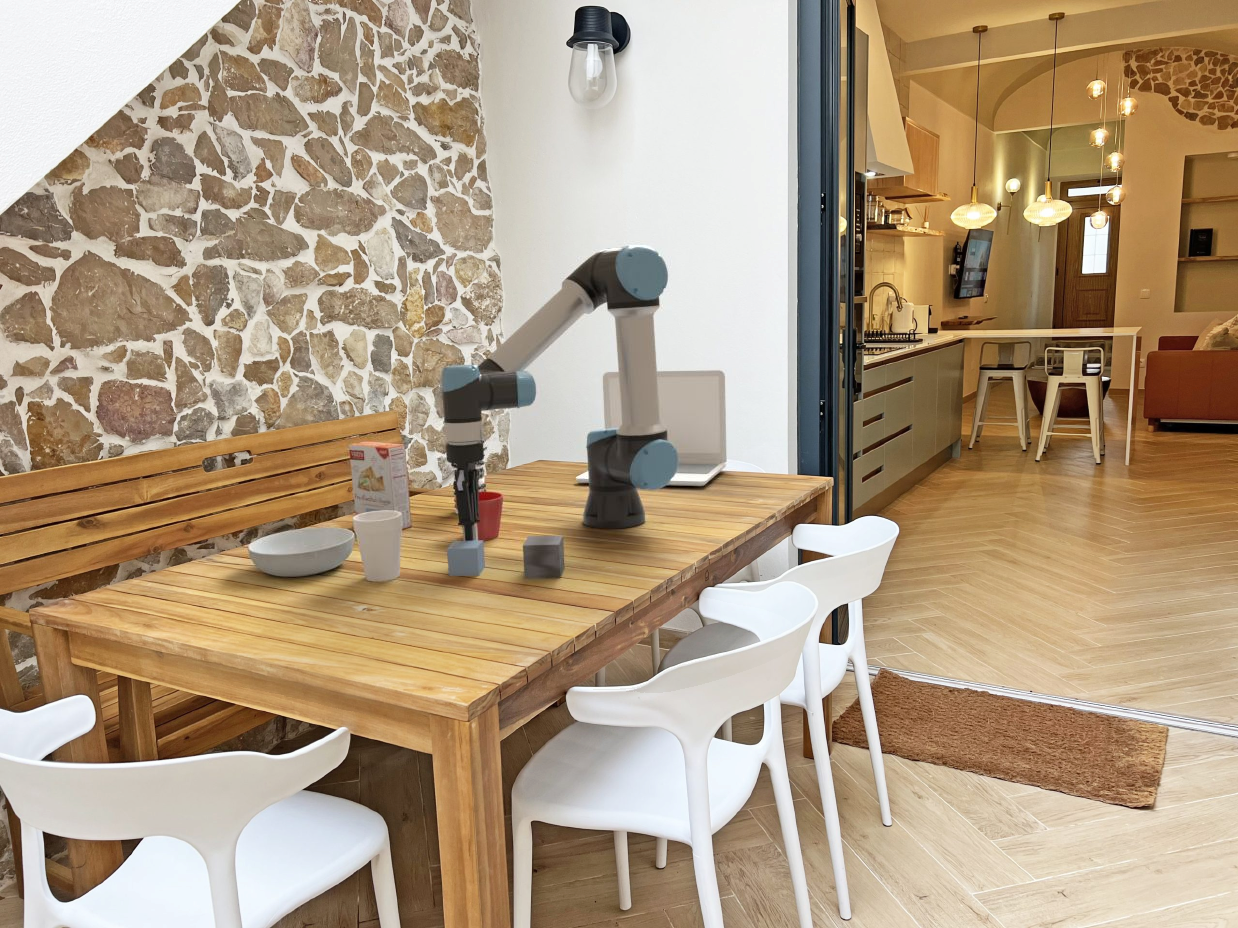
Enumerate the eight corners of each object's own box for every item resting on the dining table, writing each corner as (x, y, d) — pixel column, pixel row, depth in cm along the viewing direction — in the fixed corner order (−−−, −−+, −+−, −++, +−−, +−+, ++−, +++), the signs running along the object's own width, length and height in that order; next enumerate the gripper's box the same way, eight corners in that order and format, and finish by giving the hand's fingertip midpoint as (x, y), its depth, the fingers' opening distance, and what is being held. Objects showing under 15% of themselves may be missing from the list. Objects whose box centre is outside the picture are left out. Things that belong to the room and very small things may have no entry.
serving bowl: (249, 566, 196) (246, 535, 195) (350, 552, 204) (347, 522, 203) (252, 593, 177) (249, 558, 176) (364, 576, 185) (361, 543, 184)
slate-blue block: (485, 568, 187) (483, 540, 186) (479, 577, 181) (477, 548, 180) (456, 569, 187) (454, 541, 186) (449, 578, 181) (446, 548, 180)
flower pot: (497, 543, 207) (494, 501, 205) (451, 542, 209) (448, 500, 207) (511, 531, 217) (509, 491, 215) (467, 531, 219) (465, 491, 217)
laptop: (574, 483, 273) (569, 380, 267) (608, 465, 301) (604, 371, 296) (705, 487, 260) (702, 378, 255) (727, 467, 289) (725, 369, 283)
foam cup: (416, 574, 185) (411, 511, 182) (390, 588, 176) (385, 522, 174) (375, 571, 188) (370, 509, 186) (348, 584, 179) (342, 520, 177)
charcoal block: (564, 569, 184) (563, 535, 183) (560, 579, 178) (558, 544, 176) (530, 569, 185) (528, 536, 184) (524, 580, 178) (522, 545, 177)
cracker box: (355, 527, 228) (347, 444, 224) (373, 521, 233) (366, 440, 229) (394, 533, 220) (387, 447, 216) (412, 527, 225) (406, 443, 221)
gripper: (453, 437, 192) (461, 546, 196) (437, 447, 179) (445, 563, 183) (489, 436, 192) (495, 546, 196) (475, 446, 179) (482, 563, 183)
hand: (471, 554), depth 190 cm, fingers closed
